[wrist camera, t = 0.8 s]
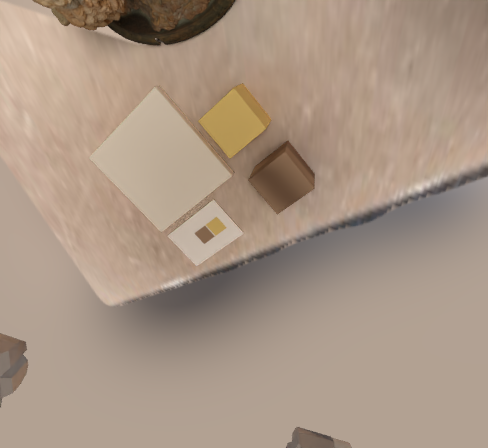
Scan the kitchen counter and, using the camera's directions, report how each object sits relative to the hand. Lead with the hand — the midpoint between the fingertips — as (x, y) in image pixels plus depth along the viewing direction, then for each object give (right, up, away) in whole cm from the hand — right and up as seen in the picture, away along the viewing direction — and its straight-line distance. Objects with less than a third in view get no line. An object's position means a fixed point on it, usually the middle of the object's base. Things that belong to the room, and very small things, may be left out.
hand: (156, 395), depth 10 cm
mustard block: (+2, +17, +30) cm, 35 cm away
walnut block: (+7, +11, +32) cm, 35 cm away
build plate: (-8, +13, +35) cm, 38 cm away
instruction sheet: (-3, +4, +38) cm, 38 cm away
